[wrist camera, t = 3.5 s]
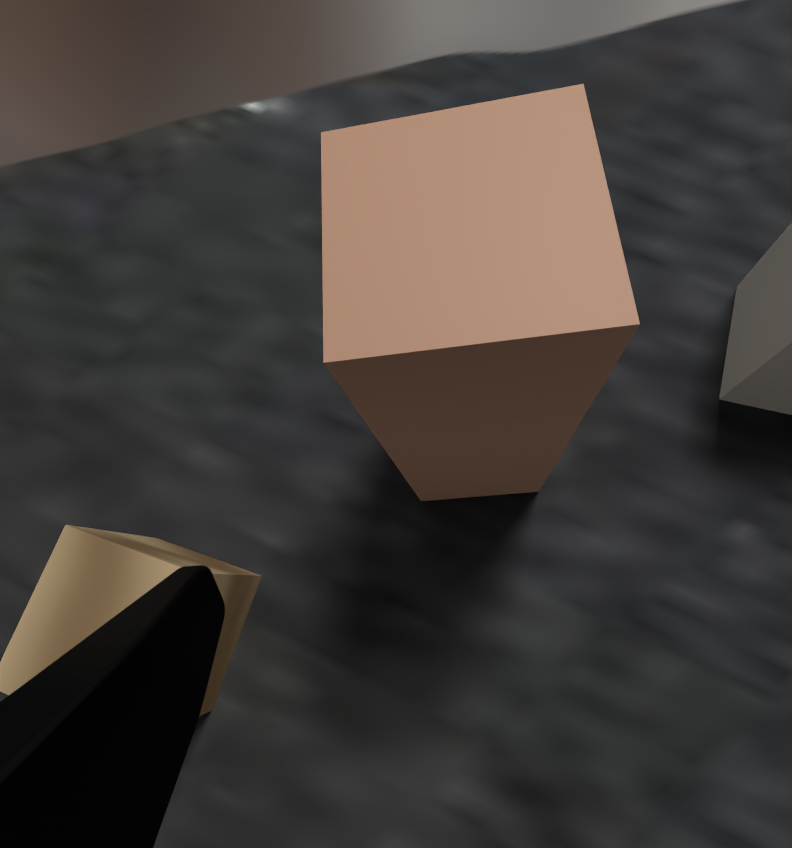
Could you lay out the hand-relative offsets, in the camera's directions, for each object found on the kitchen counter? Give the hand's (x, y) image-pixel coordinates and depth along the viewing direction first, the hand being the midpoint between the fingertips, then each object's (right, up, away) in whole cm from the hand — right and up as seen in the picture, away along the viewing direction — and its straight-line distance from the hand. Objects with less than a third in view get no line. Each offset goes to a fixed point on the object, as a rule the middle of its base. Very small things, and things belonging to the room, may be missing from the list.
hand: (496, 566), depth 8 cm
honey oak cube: (-10, -6, +12) cm, 17 cm away
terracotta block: (+2, +1, +13) cm, 13 cm away
